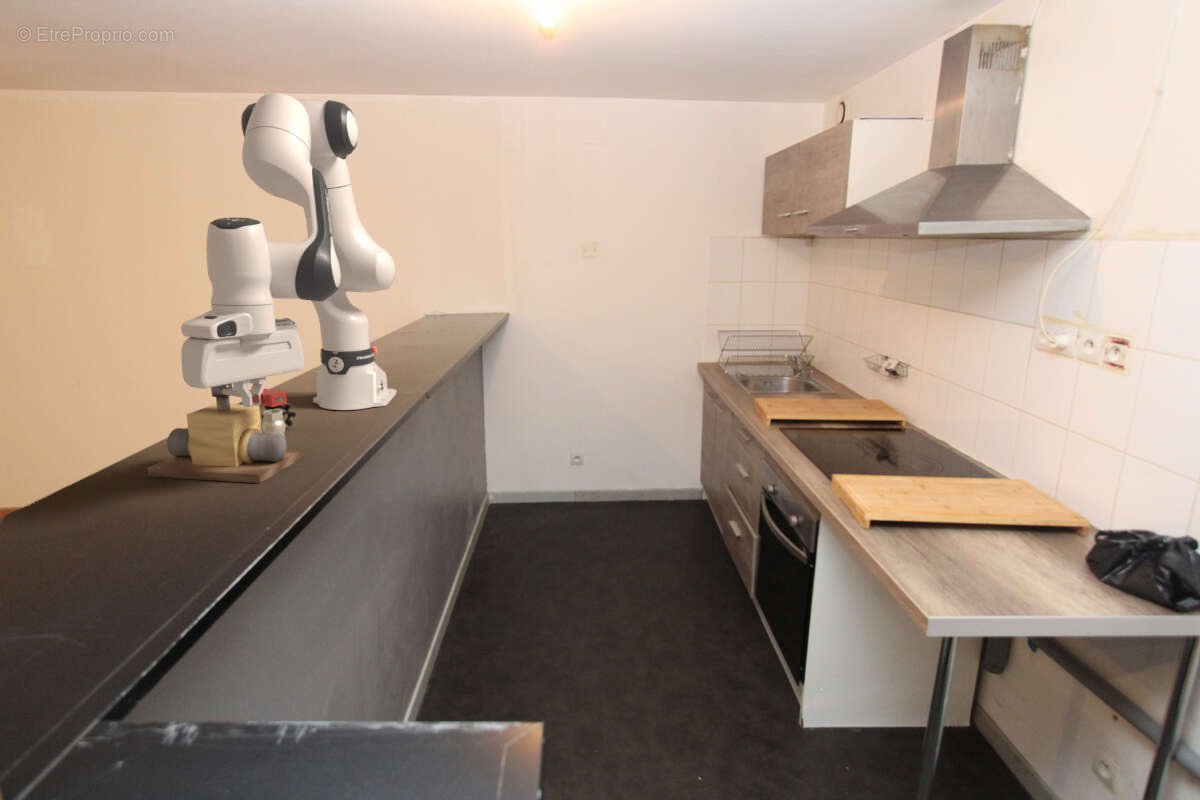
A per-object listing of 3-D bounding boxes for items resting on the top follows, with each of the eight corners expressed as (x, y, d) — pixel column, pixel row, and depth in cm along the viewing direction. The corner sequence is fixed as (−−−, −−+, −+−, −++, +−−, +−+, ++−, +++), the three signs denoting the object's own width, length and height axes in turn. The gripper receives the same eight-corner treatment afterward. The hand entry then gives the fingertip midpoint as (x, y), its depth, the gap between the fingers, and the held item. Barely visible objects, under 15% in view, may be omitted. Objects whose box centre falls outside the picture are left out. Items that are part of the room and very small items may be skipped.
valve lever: (207, 395, 112) (206, 384, 111) (224, 392, 114) (223, 381, 114) (271, 407, 106) (270, 395, 105) (287, 403, 108) (286, 391, 108)
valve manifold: (203, 450, 123) (196, 385, 120) (303, 456, 122) (298, 391, 119) (148, 476, 109) (137, 403, 106) (259, 483, 108) (252, 410, 105)
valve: (292, 444, 129) (297, 428, 140) (289, 412, 128) (294, 399, 138) (255, 447, 127) (263, 430, 138) (252, 414, 125) (260, 400, 136)
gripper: (282, 315, 113) (288, 392, 116) (170, 326, 95) (180, 416, 98) (310, 318, 111) (315, 395, 114) (200, 328, 93) (210, 421, 96)
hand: (252, 405), depth 106 cm, fingers closed
